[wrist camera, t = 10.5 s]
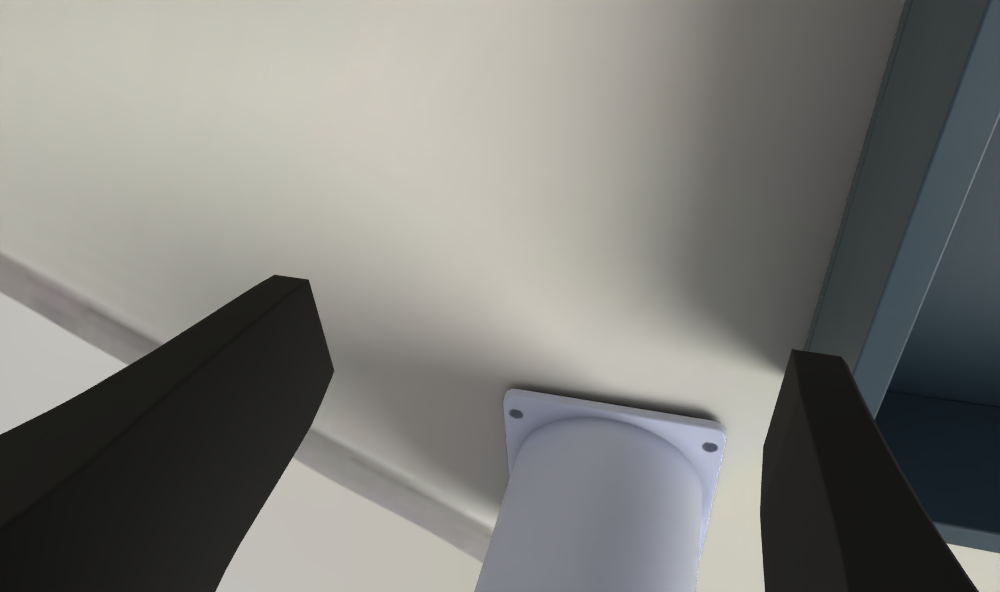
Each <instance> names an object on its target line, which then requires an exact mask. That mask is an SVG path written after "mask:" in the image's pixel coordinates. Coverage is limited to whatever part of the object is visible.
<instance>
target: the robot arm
mask: <svg viewBox="0 0 1000 592" xmlns="http://www.w3.org/2000/svg"><path fill="white" fill-rule="evenodd" d="M333 373H334V368H333V365H332V361H331V358H330V354H329V351H328V347H327V343H326V340H325V336H324V333H323V329H322V325H321V322H320V318H319V315H318V311H317V308H316V304H315V300H314V297H313V293H312V290H311V286H310V283H309V280H307V279H300V278H293V277H286V276H279V275H273V276H272V277H270V278H268V279H266V280H265V281H263V282H261V283H259V284H258V285H256V286H254V287H253V288H251V289H250V290H248V291H246V292H245V293H243V294H242V295H240V296H238V297H237V298H235V299H234V300H232V301H231V302H229V303H227V304H226V305H224V306H223V307H221V308H220V309H218V310H217V311H215V312H214V313H212V314H210V315H209V316H207V317H206V318H204V319H203V320H201V321H200V322H198V323H196V324H195V325H193V326H192V327H190V328H189V329H187V330H185V331H184V332H182V333H181V334H179V335H178V336H176V337H174V338H173V339H171V340H170V341H168V342H167V343H165V344H163V345H162V346H160V347H159V348H157V349H156V350H154V351H152V352H151V353H149V354H148V355H146V356H144V357H142V358H141V359H139V360H137V361H136V362H134V363H132V364H131V365H129V366H127V367H125V368H124V369H122V370H121V371H119V372H117V373H115V374H114V375H112V376H110V377H108V378H107V379H105V380H104V381H102V382H100V383H98V384H97V385H95V386H93V387H91V388H90V389H88V390H86V391H85V392H83V393H81V394H79V395H77V396H76V397H74V398H72V399H70V400H68V401H66V402H65V403H63V404H61V405H59V406H57V407H55V408H53V409H51V410H49V411H47V412H46V413H43V414H41V415H39V416H37V417H35V418H33V419H31V420H29V421H27V422H25V423H23V424H21V425H19V426H17V427H15V428H13V429H11V430H9V431H7V432H5V433H3V434H1V435H0V592H215V591H216V589H217V587H218V585H219V583H220V581H221V578H222V577H223V575H224V572H225V570H226V568H227V567H228V565H229V563H230V561H231V559H232V558H233V556H234V554H235V552H236V550H237V548H238V547H239V545H240V543H241V541H242V540H243V538H244V536H245V535H246V533H247V532H248V530H249V528H250V526H251V525H252V523H253V522H254V520H255V518H256V517H257V515H258V514H259V512H260V510H261V508H262V507H263V505H264V504H265V502H266V500H267V499H268V497H269V495H270V494H271V492H272V490H273V489H274V487H275V485H276V484H277V482H278V480H279V479H280V477H281V475H282V474H283V472H284V471H285V469H286V467H287V466H288V464H289V462H290V461H291V459H292V457H293V456H294V454H295V452H296V451H297V449H298V447H299V446H300V444H301V442H302V440H303V439H304V437H305V435H306V434H307V432H308V430H309V428H310V427H311V424H312V422H313V420H314V418H315V416H316V413H317V411H318V409H319V407H320V405H321V402H322V400H323V398H324V395H325V393H326V390H327V388H328V385H329V383H330V380H331V378H332V376H333ZM503 409H504V420H505V432H506V444H507V456H508V468H509V479H510V480H509V483H508V486H507V489H506V493H505V496H504V499H503V502H502V505H501V509H500V512H499V515H498V518H497V521H496V524H495V528H494V531H493V534H492V537H491V540H490V544H489V547H488V550H487V553H486V556H485V559H484V563H483V566H482V569H481V572H480V575H479V579H478V582H477V585H476V588H475V591H474V592H696V582H697V570H698V566H699V562H700V557H701V553H702V548H703V544H704V539H705V535H706V530H707V526H708V521H709V517H710V512H711V508H712V503H713V498H714V494H715V489H716V485H717V480H718V476H719V471H720V467H721V462H722V458H723V453H724V449H725V444H726V440H727V429H726V428H725V426H724V425H722V424H721V423H719V422H716V421H712V420H706V419H700V418H693V417H687V416H681V415H675V414H669V413H663V412H656V411H650V410H644V409H638V408H632V407H626V406H619V405H613V404H607V403H601V402H595V401H589V400H582V399H576V398H570V397H564V396H558V395H552V394H545V393H539V392H533V391H527V390H521V389H511V390H508V391H507V392H506V393H505V396H504V399H503ZM515 409H516V410H515ZM518 410H519V411H518ZM707 442H711V443H707ZM760 521H761V537H762V553H763V568H764V582H765V592H979V591H978V590H977V588H976V587H975V586H974V584H973V583H972V581H971V580H970V578H969V577H968V575H967V574H966V572H965V571H964V569H963V568H962V566H961V565H960V563H959V562H958V560H957V559H956V557H955V556H954V554H953V553H952V551H951V550H950V548H949V547H948V545H947V544H946V542H945V541H944V539H943V538H942V536H941V535H940V533H939V531H938V530H937V528H936V527H935V525H934V523H933V522H932V520H931V519H930V517H929V515H928V514H927V512H926V511H925V509H924V507H923V506H922V504H921V502H920V500H919V499H918V497H917V495H916V494H915V492H914V490H913V489H912V487H911V485H910V483H909V482H908V480H907V478H906V477H905V475H904V473H903V472H902V470H901V468H900V466H899V465H898V463H897V461H896V459H895V458H894V456H893V454H892V452H891V450H890V449H889V447H888V445H887V443H886V441H885V439H884V437H883V435H882V434H881V432H880V430H879V428H878V426H877V424H876V422H875V420H874V418H873V416H872V414H871V412H870V410H869V408H868V406H867V404H866V402H865V400H864V398H863V396H862V394H861V392H860V390H859V388H858V386H857V384H856V382H855V380H854V377H853V375H852V373H851V371H850V369H849V366H848V364H847V363H846V362H845V360H844V359H843V358H842V357H841V356H836V355H829V354H822V353H815V352H808V351H801V350H794V349H792V351H791V355H790V358H789V361H788V365H787V368H786V372H785V375H784V378H783V382H782V385H781V389H780V392H779V395H778V399H777V402H776V406H775V409H774V412H773V416H772V419H771V423H770V426H769V429H768V433H767V436H766V440H765V443H764V446H763V464H762V482H761V505H760Z"/></svg>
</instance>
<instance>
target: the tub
mask: <svg viewBox="0 0 1000 592" xmlns="http://www.w3.org/2000/svg"><path fill="white" fill-rule="evenodd" d="M804 351H808V352H815V353H822V354H829V355H836V356H841V357H842V358H843V359H844V360H845V362H846V363H847V364H848V366H849V369H850V371H851V373H852V375H853V377H854V380H855V382H856V384H857V386H858V388H859V390H860V392H861V394H862V396H863V398H864V400H865V402H866V404H867V406H868V408H869V410H870V412H871V414H872V416H873V418H874V420H875V422H876V424H877V426H878V428H879V430H880V432H881V434H882V435H883V437H884V439H885V441H886V443H887V445H888V447H889V449H890V450H891V452H892V454H893V456H894V458H895V459H896V461H897V463H898V465H899V466H900V468H901V470H902V472H903V473H904V475H905V477H906V478H907V480H908V482H909V483H910V485H911V487H912V489H913V490H914V492H915V494H916V495H917V497H918V499H919V500H920V502H921V504H922V506H923V507H924V509H925V511H926V512H927V514H928V515H929V517H930V519H931V520H932V522H933V523H934V525H935V527H936V528H937V530H938V531H939V533H940V535H941V536H942V538H943V539H944V541H945V542H946V543H948V544H953V545H958V546H964V547H969V548H974V549H980V550H985V551H990V552H996V553H1000V0H906V2H905V5H904V9H903V12H902V16H901V19H900V22H899V26H898V29H897V33H896V36H895V40H894V43H893V46H892V50H891V53H890V57H889V60H888V64H887V67H886V70H885V74H884V77H883V81H882V84H881V87H880V91H879V94H878V98H877V101H876V105H875V108H874V111H873V115H872V118H871V122H870V125H869V129H868V132H867V135H866V139H865V142H864V146H863V149H862V153H861V156H860V159H859V163H858V166H857V170H856V173H855V177H854V180H853V183H852V187H851V190H850V194H849V197H848V201H847V204H846V207H845V211H844V214H843V218H842V221H841V225H840V228H839V231H838V235H837V238H836V242H835V245H834V249H833V252H832V255H831V259H830V262H829V266H828V269H827V273H826V276H825V279H824V283H823V286H822V290H821V293H820V296H819V300H818V303H817V307H816V310H815V314H814V317H813V320H812V324H811V327H810V331H809V334H808V338H807V341H806V344H805V348H804Z"/></svg>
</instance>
